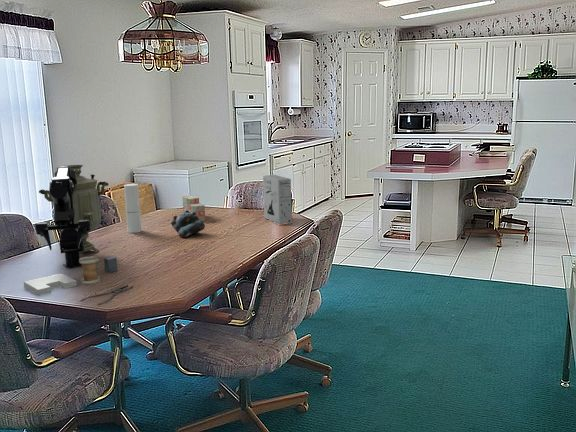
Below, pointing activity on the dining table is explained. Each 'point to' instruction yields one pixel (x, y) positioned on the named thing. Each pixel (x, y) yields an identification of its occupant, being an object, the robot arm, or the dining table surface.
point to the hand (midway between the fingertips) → (64, 249)
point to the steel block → (110, 264)
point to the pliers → (111, 293)
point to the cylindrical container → (132, 208)
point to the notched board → (49, 283)
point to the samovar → (84, 202)
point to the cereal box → (277, 199)
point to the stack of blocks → (194, 206)
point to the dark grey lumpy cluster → (187, 224)
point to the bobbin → (89, 270)
